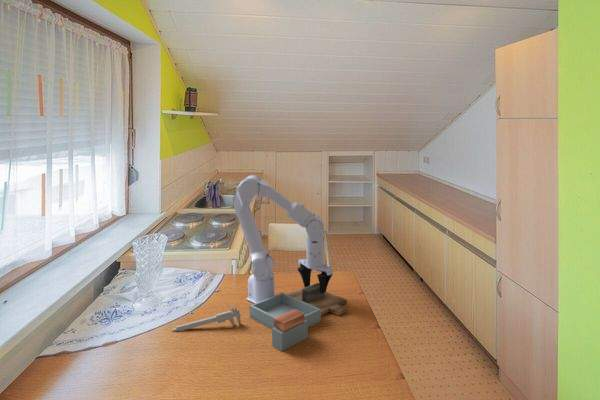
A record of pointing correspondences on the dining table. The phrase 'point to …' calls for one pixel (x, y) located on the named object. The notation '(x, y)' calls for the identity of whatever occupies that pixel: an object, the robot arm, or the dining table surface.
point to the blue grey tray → (279, 306)
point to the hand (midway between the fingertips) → (314, 289)
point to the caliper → (212, 320)
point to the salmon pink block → (289, 320)
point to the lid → (320, 299)
